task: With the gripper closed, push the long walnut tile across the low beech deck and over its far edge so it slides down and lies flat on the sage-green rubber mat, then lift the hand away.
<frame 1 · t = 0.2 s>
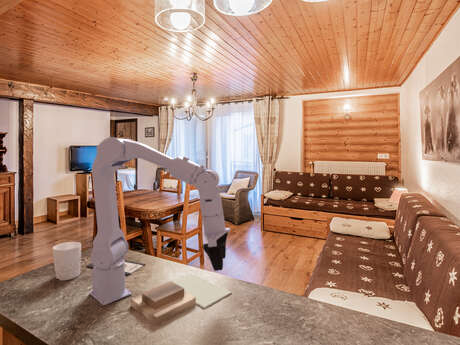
hand: (220, 263, 74), 10 cm above the kitchen counter, tool pointing down, fingers open, 7 cm apart
sage mat: (196, 289, 81), on the kitchen counter
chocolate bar: (116, 268, 97), on the kitchen counter
walnut tile: (163, 298, 73), point 2 cm above the kitchen counter, touching beech deck
white cup: (68, 276, 89), on the kitchen counter
beech deck: (163, 305, 73), on the kitchen counter
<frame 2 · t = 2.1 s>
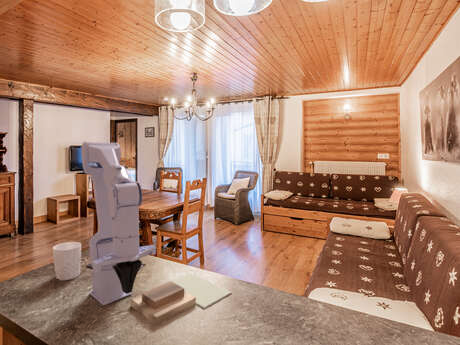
hand: (127, 291, 65), 8 cm above the kitchen counter, tool pointing down, fingers closed
nothing on the kitchen counter moved.
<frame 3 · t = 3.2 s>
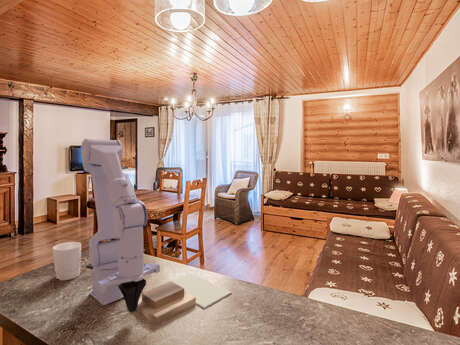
hand: (131, 309, 66), 3 cm above the kitchen counter, tool pointing down, fingers closed
nothing on the kitchen counter moved.
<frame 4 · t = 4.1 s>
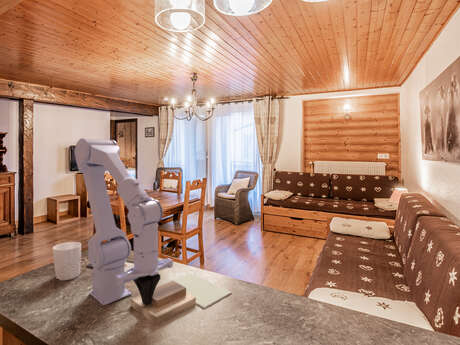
hand: (146, 303, 69), 3 cm above the kitchen counter, tool pointing down, fingers closed
walnut tile: (165, 297, 73), point 2 cm above the kitchen counter, touching beech deck, gripper
everything else where it was.
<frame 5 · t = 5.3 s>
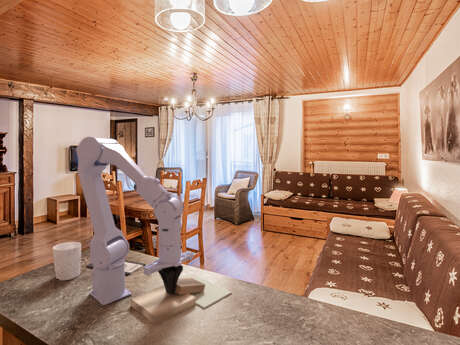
hand: (170, 292, 74), 3 cm above the kitchen counter, tool pointing down, fingers closed
walnut tile: (185, 289, 78), point 2 cm above the kitchen counter, tilted 16°, touching beech deck, sage mat
everything else where it was.
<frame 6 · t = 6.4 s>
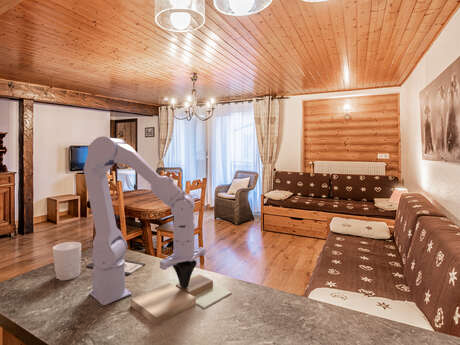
hand: (184, 286, 78), 3 cm above the kitchen counter, tool pointing down, fingers closed
walnut tile: (194, 289, 81), resting on sage mat
everything else where it was.
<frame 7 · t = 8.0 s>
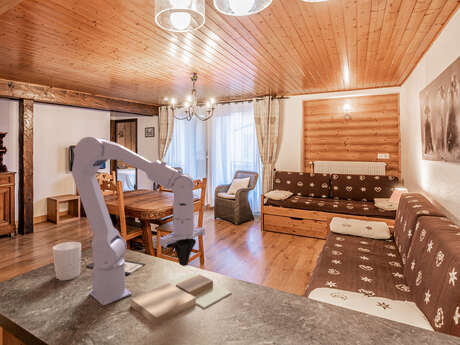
hand: (183, 264, 78), 8 cm above the kitchen counter, tool pointing down, fingers closed
nothing on the kitchen counter moved.
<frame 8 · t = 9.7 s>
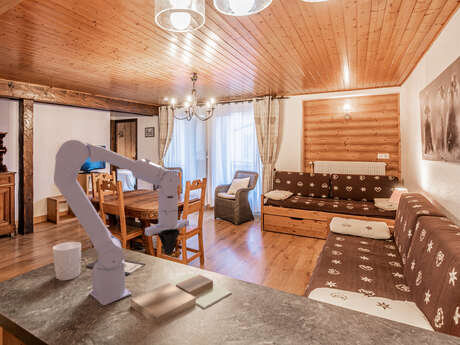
hand: (168, 253, 84), 9 cm above the kitchen counter, tool pointing down, fingers closed
nothing on the kitchen counter moved.
at the end: walnut tile inside the target area (1.3 cm from its centre), resting on sage mat; walnut tile tilted 0° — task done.
